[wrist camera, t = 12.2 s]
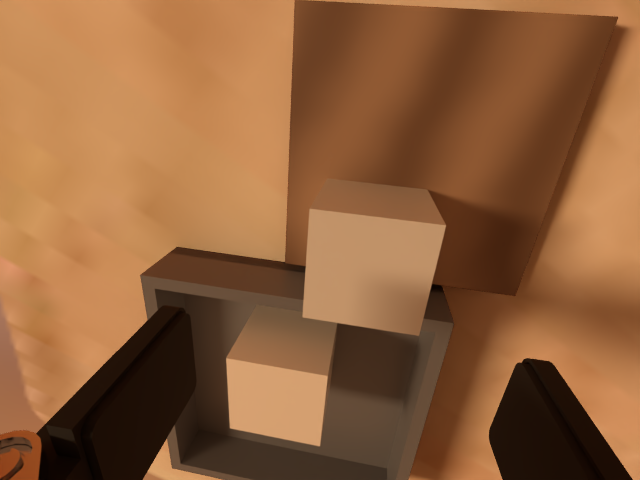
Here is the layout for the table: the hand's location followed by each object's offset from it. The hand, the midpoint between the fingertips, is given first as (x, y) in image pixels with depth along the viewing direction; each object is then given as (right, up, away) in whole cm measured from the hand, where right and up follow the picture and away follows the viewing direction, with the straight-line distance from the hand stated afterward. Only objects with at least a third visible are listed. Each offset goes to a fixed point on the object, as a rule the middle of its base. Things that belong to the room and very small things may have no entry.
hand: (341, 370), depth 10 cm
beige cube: (+2, +4, +10) cm, 11 cm away
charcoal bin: (-2, -6, +16) cm, 18 cm away
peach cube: (-2, -3, +14) cm, 15 cm away
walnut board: (+5, +8, +9) cm, 13 cm away
